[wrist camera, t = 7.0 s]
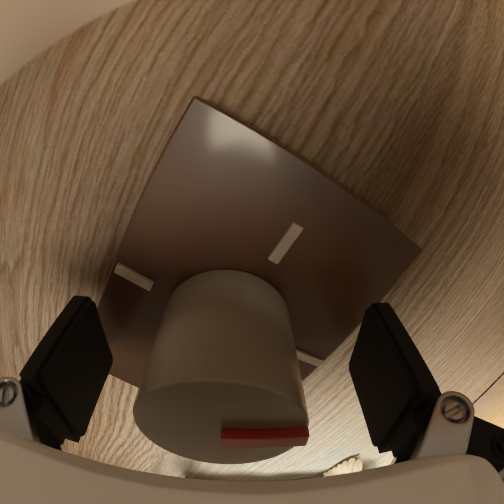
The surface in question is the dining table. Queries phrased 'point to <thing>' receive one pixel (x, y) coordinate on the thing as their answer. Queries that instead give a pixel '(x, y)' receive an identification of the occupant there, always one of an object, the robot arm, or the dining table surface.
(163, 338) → the dial
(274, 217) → the dial panel
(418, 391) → the robot arm
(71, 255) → the dining table surface
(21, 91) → the dining table surface
